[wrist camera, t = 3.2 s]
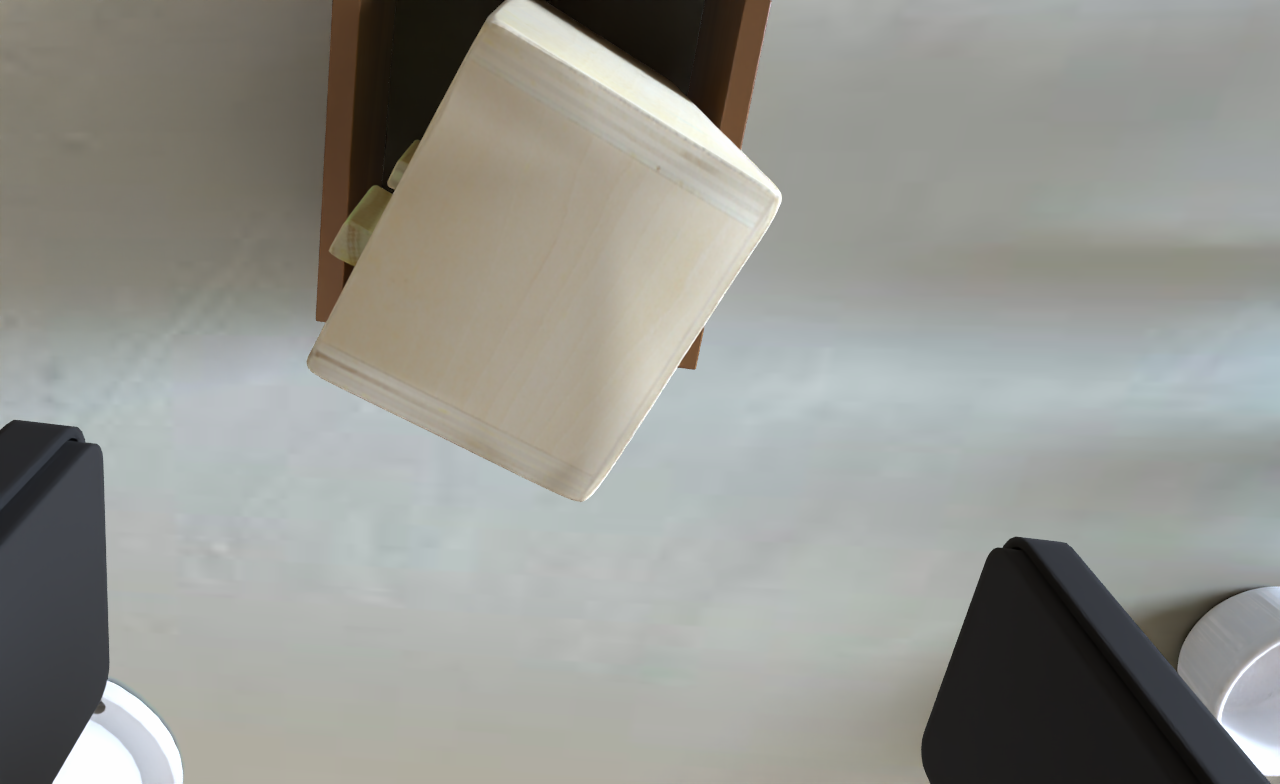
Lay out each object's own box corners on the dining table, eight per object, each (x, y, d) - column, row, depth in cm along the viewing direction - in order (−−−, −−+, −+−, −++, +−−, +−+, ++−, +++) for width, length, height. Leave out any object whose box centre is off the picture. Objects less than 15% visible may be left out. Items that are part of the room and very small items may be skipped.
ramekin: (1221, 556, 50) (1279, 609, 46) (1369, 595, 52) (1437, 650, 48) (1133, 698, 53) (1180, 759, 49) (1275, 730, 55) (1331, 792, 51)
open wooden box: (356, 252, 41) (315, 321, 33) (379, -96, 36) (337, -106, 29) (669, 296, 43) (695, 370, 35) (732, -31, 38) (776, -23, 30)
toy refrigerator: (501, -36, 37) (454, -10, 18) (674, 74, 39) (798, 204, 20) (400, 158, 39) (262, 363, 20) (568, 252, 41) (587, 521, 22)
